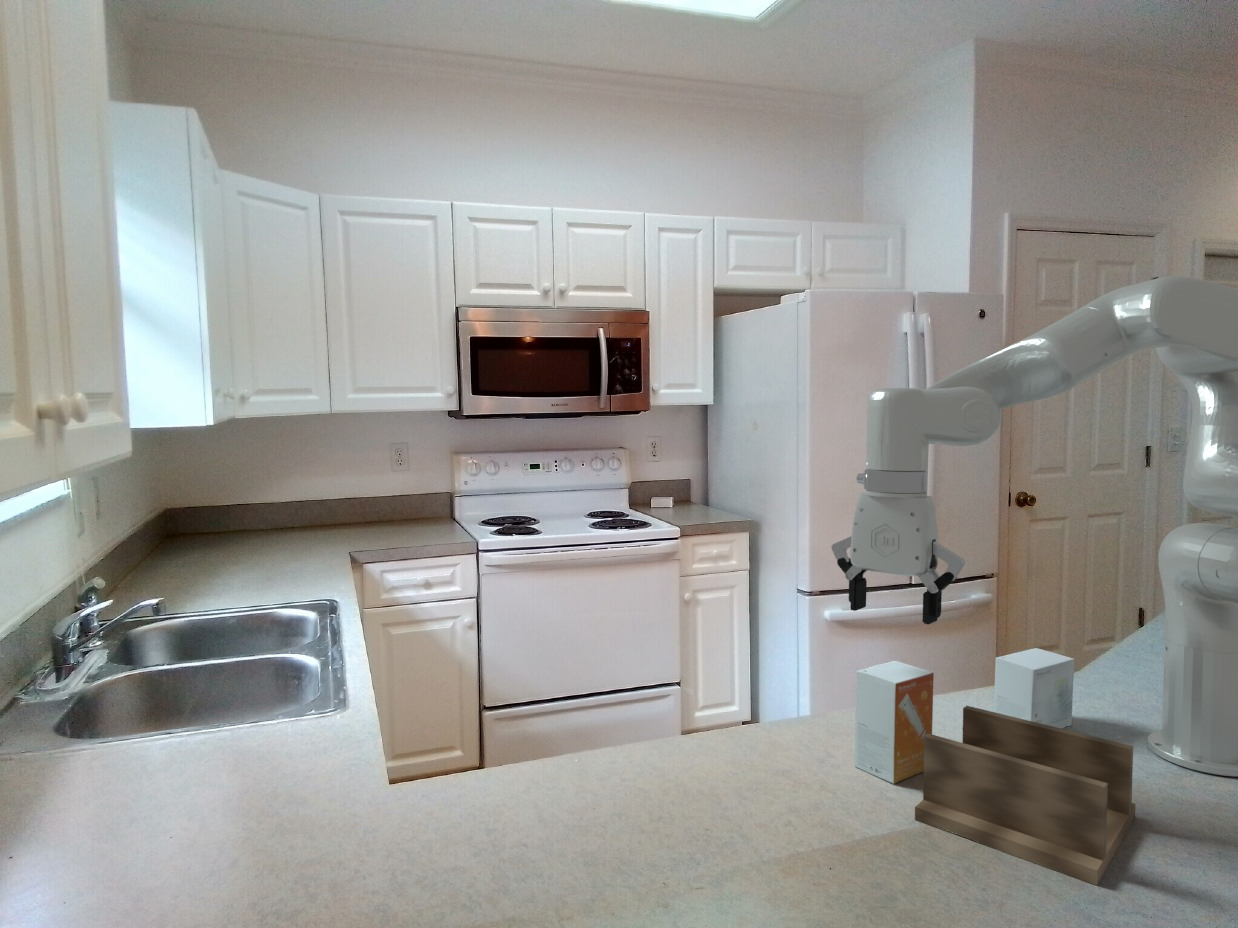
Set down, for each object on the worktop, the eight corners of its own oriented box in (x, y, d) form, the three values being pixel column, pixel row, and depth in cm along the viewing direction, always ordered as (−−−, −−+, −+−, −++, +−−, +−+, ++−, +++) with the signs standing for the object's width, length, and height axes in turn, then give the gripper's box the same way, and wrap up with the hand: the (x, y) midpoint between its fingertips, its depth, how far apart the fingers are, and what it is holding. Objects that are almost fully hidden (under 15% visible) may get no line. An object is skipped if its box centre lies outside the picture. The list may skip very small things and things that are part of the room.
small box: (894, 785, 95) (895, 683, 94) (853, 766, 100) (854, 669, 99) (933, 769, 99) (935, 671, 99) (892, 751, 105) (893, 659, 104)
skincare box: (1033, 741, 108) (1034, 668, 108) (991, 725, 114) (992, 656, 113) (1074, 726, 113) (1076, 656, 113) (1032, 712, 119) (1034, 646, 118)
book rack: (914, 819, 87) (915, 742, 86) (971, 768, 99) (973, 700, 99) (1096, 885, 74) (1099, 795, 74) (1135, 816, 87) (1137, 739, 86)
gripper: (821, 481, 101) (818, 608, 102) (953, 490, 89) (949, 633, 90) (848, 479, 106) (845, 599, 107) (976, 486, 94) (972, 622, 95)
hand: (893, 615), depth 99 cm, fingers open, 9 cm apart
